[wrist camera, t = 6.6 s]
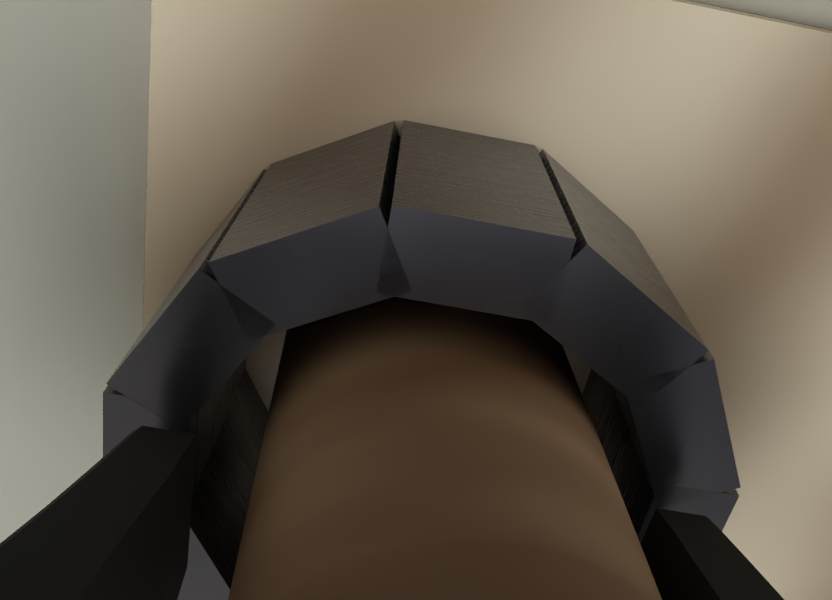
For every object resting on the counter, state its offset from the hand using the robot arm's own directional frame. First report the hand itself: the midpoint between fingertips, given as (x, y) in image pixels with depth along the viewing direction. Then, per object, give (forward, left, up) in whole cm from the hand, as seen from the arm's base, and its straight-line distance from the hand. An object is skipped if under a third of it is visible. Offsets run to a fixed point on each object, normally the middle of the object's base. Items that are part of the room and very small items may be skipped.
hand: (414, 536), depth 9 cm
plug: (0, 0, -4) cm, 4 cm away
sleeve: (0, 0, -5) cm, 5 cm away
